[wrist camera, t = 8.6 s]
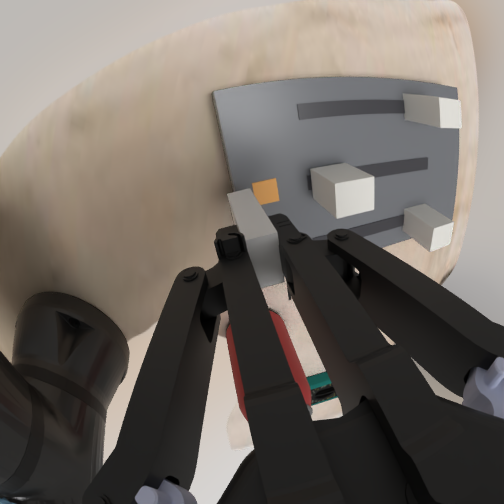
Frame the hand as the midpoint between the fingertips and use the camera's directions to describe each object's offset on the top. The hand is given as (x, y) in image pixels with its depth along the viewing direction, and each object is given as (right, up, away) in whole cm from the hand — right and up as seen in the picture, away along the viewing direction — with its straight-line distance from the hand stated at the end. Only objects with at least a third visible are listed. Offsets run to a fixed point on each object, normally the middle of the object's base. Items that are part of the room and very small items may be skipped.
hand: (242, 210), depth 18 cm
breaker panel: (+11, +5, +5) cm, 13 cm away
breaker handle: (+7, +3, +2) cm, 7 cm away
